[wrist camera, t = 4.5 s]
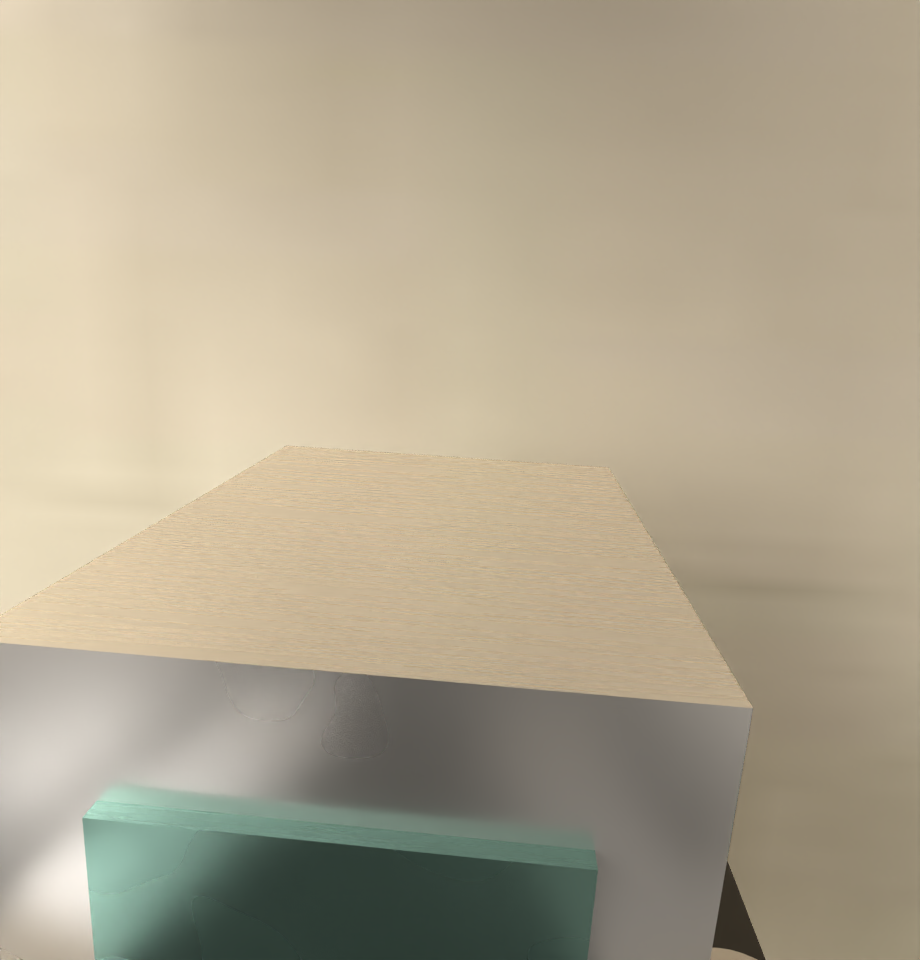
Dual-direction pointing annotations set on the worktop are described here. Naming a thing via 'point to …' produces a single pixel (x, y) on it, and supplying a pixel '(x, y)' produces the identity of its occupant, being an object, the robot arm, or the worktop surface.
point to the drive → (369, 727)
